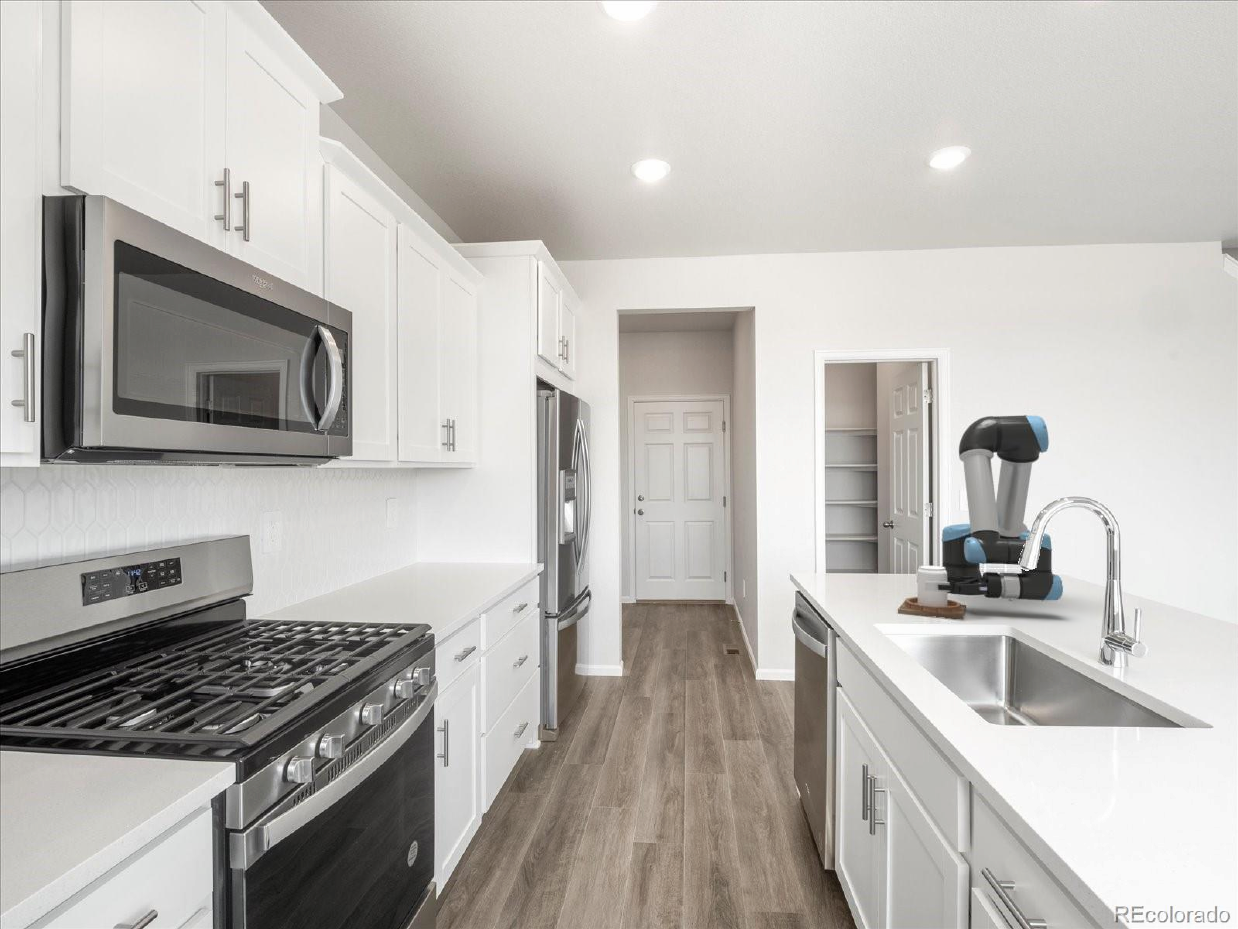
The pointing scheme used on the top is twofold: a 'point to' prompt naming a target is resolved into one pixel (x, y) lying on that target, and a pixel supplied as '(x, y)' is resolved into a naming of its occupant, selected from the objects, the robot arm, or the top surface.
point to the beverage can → (933, 576)
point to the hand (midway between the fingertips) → (920, 582)
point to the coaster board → (933, 609)
